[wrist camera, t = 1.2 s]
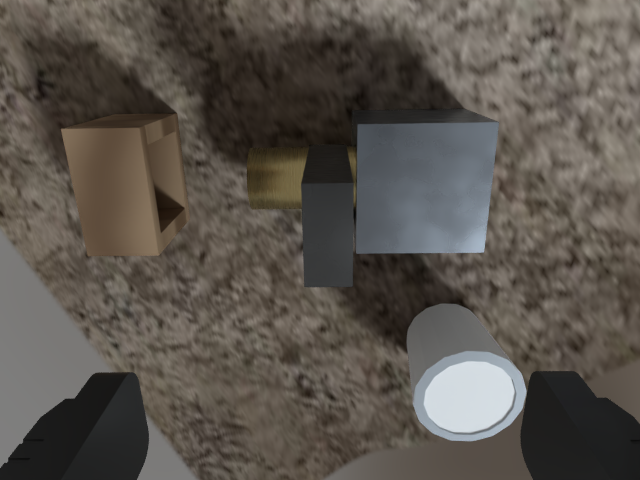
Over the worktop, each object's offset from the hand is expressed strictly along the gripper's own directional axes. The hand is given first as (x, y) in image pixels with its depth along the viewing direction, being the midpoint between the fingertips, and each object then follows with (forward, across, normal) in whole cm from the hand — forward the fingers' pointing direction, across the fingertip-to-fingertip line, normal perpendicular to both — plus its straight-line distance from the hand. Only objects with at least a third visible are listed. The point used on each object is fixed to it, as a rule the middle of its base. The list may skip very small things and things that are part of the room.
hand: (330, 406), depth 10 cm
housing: (+23, -5, 0) cm, 23 cm away
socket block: (+23, +12, 0) cm, 25 cm away
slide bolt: (+21, -2, 0) cm, 21 cm away
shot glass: (+23, -8, +13) cm, 28 cm away
